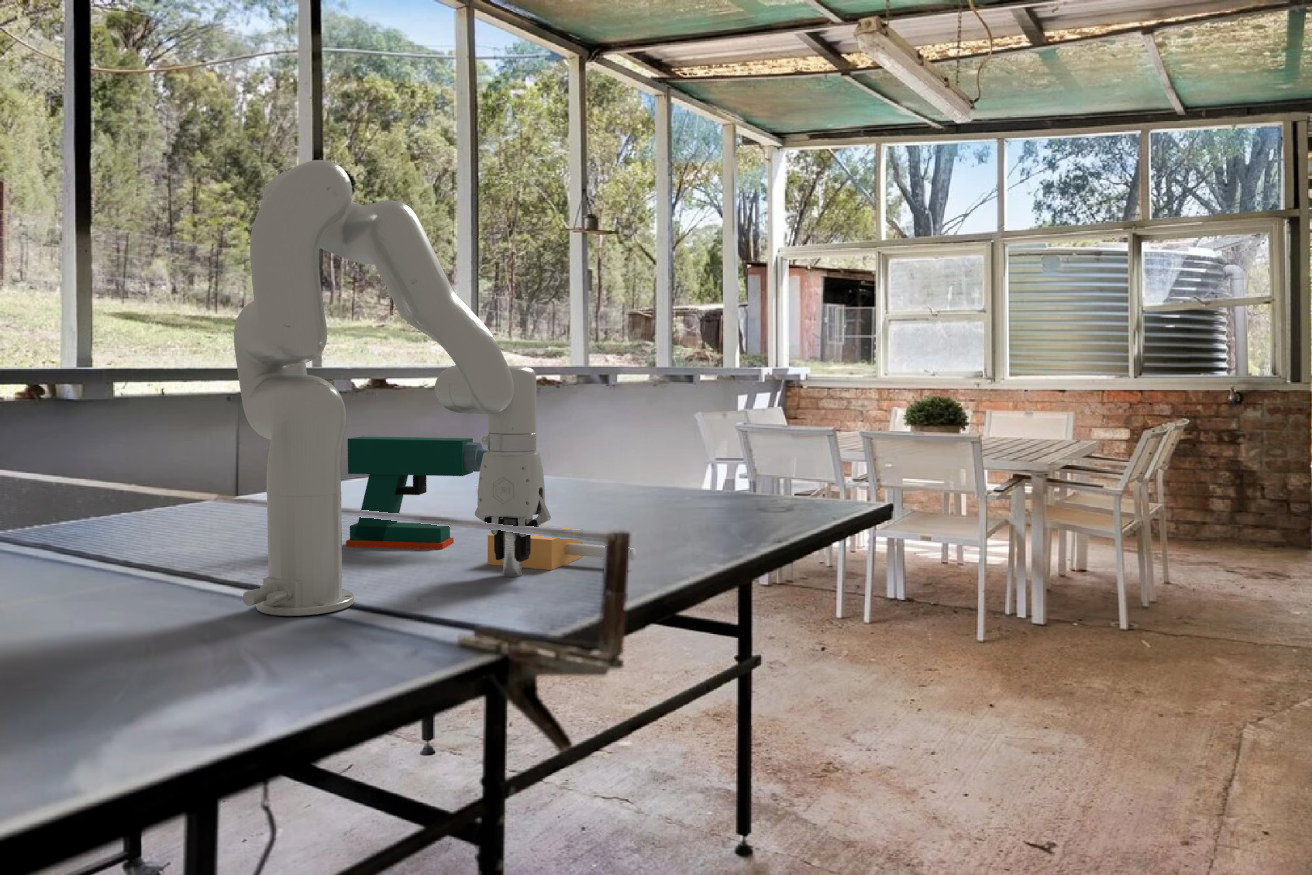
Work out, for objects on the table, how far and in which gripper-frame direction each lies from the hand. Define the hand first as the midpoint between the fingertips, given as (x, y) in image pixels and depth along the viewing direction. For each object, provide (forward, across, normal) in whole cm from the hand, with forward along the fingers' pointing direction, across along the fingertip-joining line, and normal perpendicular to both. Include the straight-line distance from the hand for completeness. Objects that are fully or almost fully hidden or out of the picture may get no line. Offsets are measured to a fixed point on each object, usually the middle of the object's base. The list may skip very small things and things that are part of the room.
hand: (512, 558), depth 153 cm
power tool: (+3, -26, +18) cm, 32 cm away
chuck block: (+3, +4, +12) cm, 13 cm away
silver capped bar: (+3, 0, 0) cm, 3 cm away
